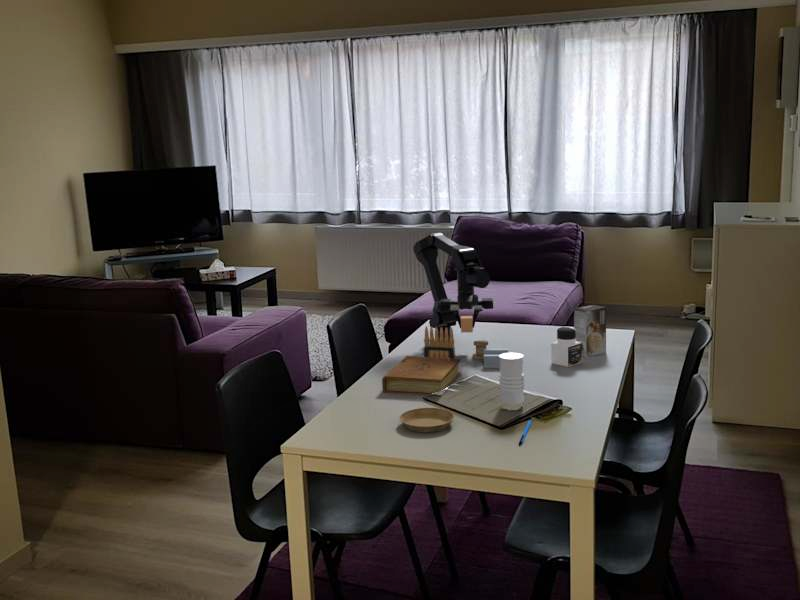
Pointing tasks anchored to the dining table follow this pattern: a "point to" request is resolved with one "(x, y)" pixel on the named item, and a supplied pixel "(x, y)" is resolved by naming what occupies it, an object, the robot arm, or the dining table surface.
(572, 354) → the medicine bottle
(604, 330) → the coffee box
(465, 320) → the block
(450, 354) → the ammunition clip
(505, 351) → the notched board
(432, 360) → the diary
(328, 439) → the dining table surface
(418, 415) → the plant saucer
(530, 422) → the pen
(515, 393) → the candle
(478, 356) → the wooden knob
